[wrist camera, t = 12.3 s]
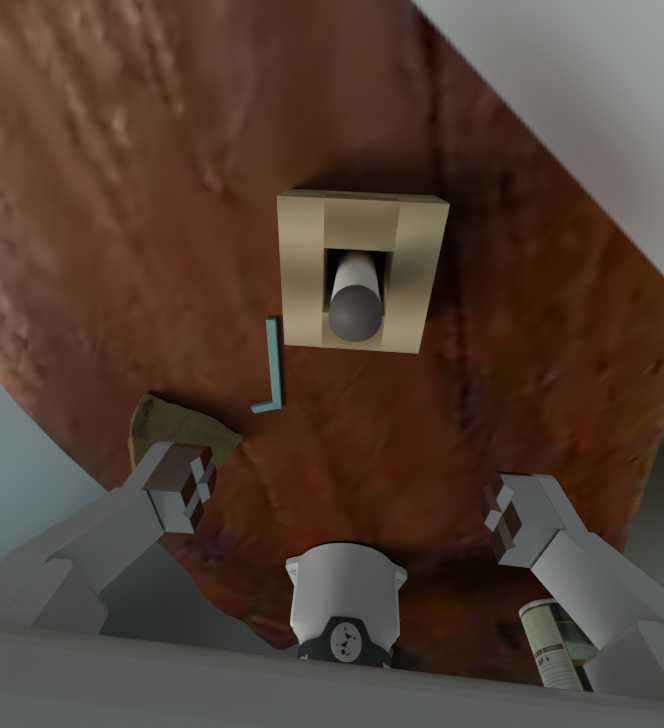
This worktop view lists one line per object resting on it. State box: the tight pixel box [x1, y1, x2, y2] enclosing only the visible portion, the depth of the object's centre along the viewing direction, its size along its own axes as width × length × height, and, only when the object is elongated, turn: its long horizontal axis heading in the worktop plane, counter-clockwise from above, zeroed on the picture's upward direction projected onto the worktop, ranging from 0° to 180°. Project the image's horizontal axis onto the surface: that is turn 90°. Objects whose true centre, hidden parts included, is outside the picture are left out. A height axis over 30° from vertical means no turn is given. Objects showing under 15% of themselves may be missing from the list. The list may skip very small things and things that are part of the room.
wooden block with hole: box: [277, 189, 450, 353], centre depth 23 cm, size 10×10×4 cm
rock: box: [128, 393, 243, 473], centre depth 33 cm, size 11×9×10 cm
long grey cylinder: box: [328, 249, 382, 342], centre depth 21 cm, size 3×3×10 cm
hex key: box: [251, 317, 282, 413], centre depth 31 cm, size 11×3×1 cm, turn 178°
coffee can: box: [519, 598, 599, 692], centre depth 48 cm, size 10×10×14 cm
